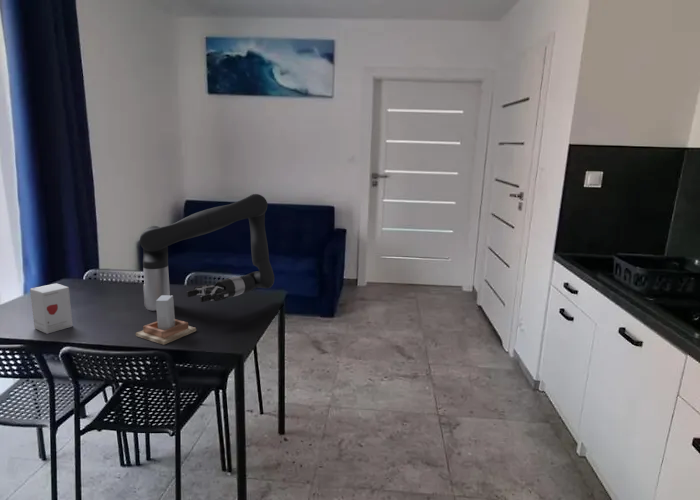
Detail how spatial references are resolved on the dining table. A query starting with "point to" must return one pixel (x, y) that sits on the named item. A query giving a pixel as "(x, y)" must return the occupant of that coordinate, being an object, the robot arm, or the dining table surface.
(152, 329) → the serum stand
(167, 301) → the skincare box
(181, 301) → the dining table surface
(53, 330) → the supplement box
